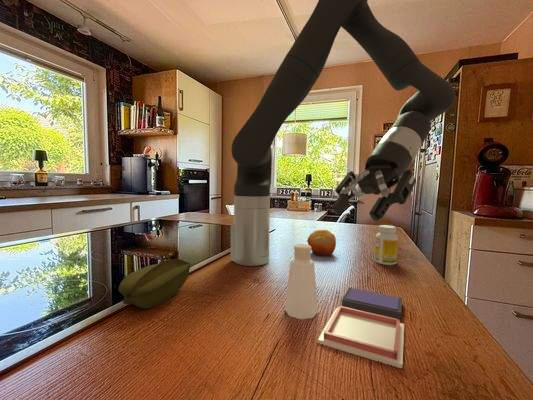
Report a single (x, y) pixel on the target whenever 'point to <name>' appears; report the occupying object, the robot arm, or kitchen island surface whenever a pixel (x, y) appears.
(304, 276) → the pepper shaker
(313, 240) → the fruit
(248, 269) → the kitchen island surface
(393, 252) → the supplement bottle
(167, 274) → the fruit
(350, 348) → the pink and white tray
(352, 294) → the ink pad
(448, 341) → the kitchen island surface
